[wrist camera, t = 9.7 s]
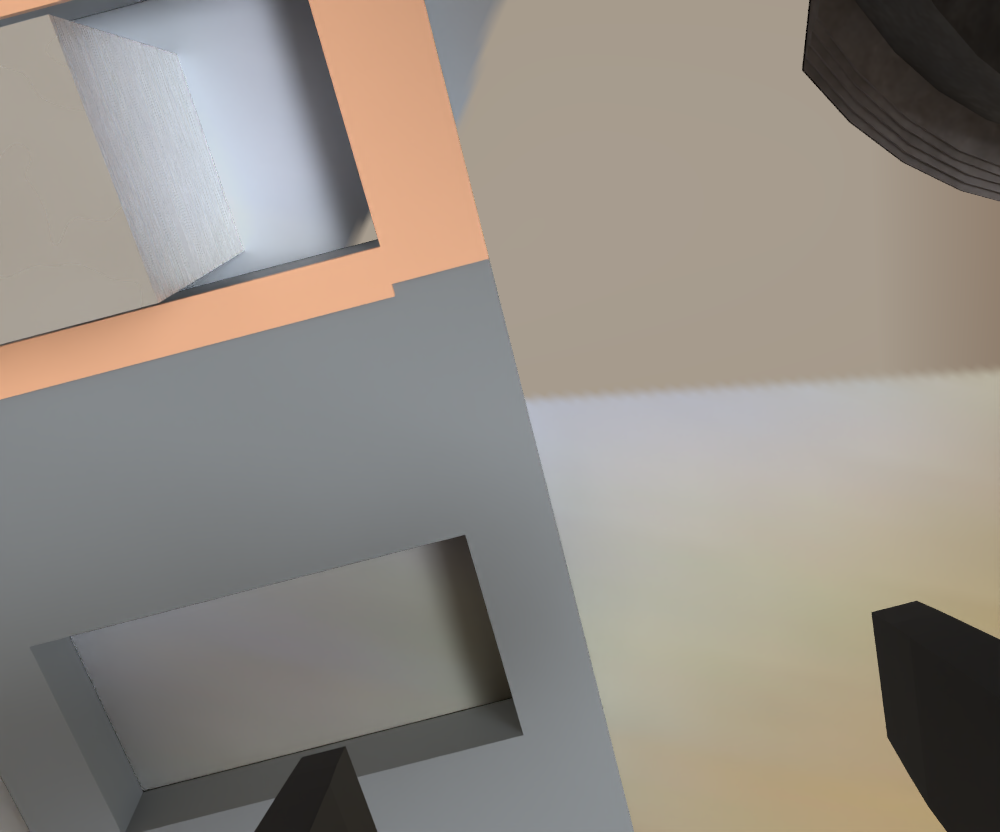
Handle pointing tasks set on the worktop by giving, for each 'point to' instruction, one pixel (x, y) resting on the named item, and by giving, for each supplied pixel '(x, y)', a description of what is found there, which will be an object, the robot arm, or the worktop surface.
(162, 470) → the rail plate
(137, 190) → the block
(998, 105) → the juicer
